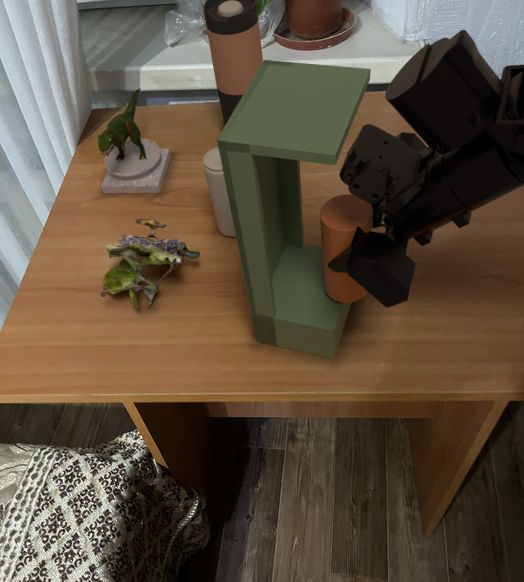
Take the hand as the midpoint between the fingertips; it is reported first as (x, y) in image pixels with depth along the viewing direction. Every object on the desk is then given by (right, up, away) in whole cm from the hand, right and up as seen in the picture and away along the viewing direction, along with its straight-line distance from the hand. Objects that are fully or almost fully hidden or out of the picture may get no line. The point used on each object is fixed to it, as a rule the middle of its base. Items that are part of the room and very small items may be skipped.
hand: (337, 248), depth 59 cm
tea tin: (+2, -3, +4) cm, 6 cm away
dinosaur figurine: (-28, +19, +31) cm, 46 cm away
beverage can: (-12, +7, +21) cm, 26 cm away
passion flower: (-23, -2, +17) cm, 28 cm away
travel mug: (-11, +26, +34) cm, 44 cm away
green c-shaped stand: (-1, -6, +11) cm, 13 cm away
